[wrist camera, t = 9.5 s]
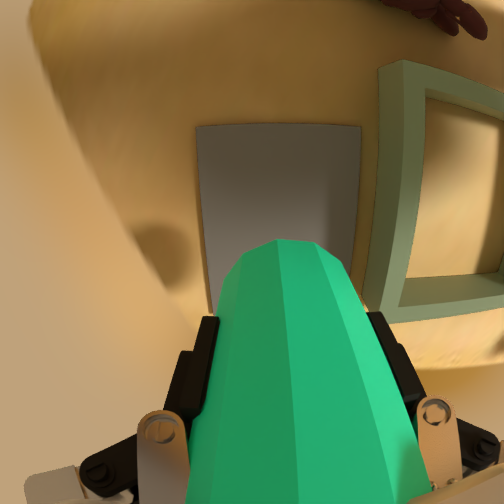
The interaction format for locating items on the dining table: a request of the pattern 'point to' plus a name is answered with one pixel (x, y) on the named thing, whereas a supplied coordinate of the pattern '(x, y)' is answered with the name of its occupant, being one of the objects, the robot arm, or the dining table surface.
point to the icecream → (445, 15)
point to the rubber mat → (276, 190)
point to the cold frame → (418, 198)
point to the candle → (300, 392)
